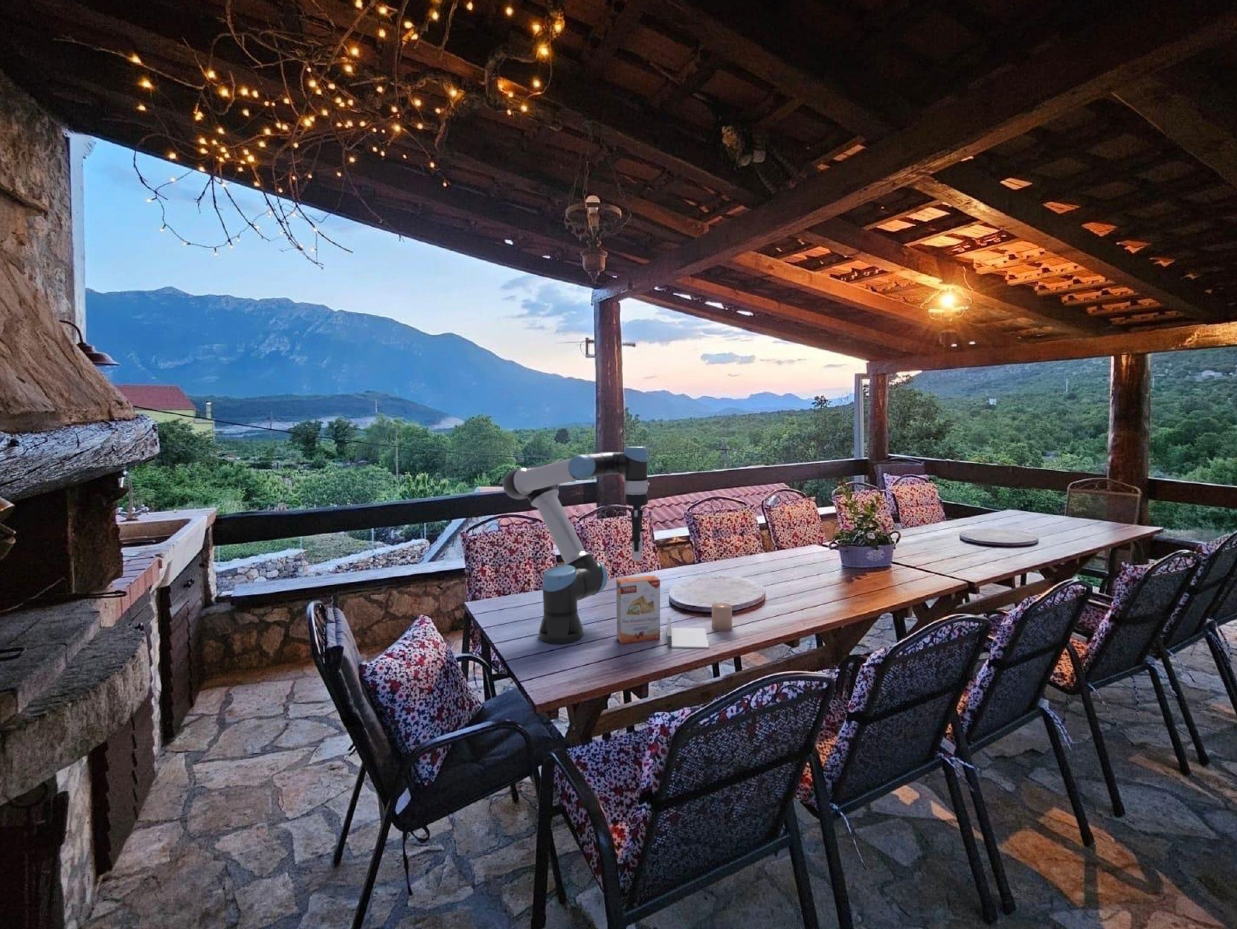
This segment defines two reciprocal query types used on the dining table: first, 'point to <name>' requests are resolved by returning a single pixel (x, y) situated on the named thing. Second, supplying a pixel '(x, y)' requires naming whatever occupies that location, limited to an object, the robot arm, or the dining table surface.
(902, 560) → the dining table surface
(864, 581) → the dining table surface
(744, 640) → the dining table surface
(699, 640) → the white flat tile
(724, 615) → the peach domed knob
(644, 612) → the cracker box
